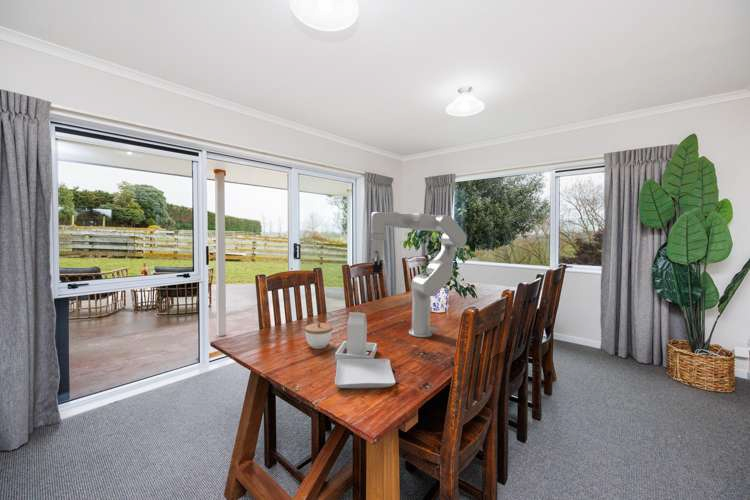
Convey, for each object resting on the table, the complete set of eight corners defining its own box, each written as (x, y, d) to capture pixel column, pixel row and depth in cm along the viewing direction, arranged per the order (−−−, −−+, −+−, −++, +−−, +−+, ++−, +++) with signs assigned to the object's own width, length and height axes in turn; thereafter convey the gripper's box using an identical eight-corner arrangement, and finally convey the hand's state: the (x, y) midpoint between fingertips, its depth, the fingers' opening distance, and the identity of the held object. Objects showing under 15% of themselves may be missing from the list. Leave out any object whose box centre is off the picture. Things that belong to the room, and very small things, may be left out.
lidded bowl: (336, 348, 149) (336, 324, 148) (310, 353, 143) (310, 328, 142) (326, 339, 160) (326, 317, 159) (301, 343, 153) (301, 321, 153)
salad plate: (337, 366, 130) (337, 358, 130) (389, 365, 132) (389, 357, 132) (334, 393, 109) (334, 384, 109) (396, 392, 111) (396, 382, 110)
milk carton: (362, 359, 136) (363, 315, 134) (346, 358, 137) (347, 314, 136) (366, 353, 143) (367, 311, 141) (350, 351, 144) (351, 310, 143)
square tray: (376, 350, 147) (376, 343, 146) (370, 364, 132) (371, 356, 131) (344, 348, 149) (344, 340, 149) (335, 361, 134) (335, 353, 134)
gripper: (373, 236, 168) (373, 268, 170) (367, 237, 151) (367, 273, 153) (387, 236, 167) (387, 269, 169) (383, 237, 150) (382, 274, 152)
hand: (377, 271), depth 161 cm, fingers open, 9 cm apart
